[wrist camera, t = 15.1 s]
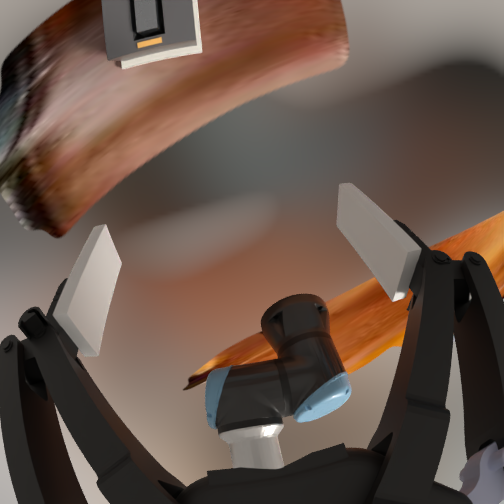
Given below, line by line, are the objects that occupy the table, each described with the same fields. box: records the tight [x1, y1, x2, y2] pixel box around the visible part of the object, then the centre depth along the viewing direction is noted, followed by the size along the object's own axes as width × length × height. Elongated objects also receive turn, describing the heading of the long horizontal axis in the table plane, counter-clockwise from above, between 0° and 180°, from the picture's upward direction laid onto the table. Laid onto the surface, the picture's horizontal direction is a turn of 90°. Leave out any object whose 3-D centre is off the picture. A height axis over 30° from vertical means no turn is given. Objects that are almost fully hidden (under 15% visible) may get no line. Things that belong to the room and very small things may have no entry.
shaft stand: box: [121, 0, 202, 69], centre depth 21 cm, size 11×10×10 cm
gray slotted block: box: [102, 0, 197, 61], centre depth 20 cm, size 9×9×7 cm
